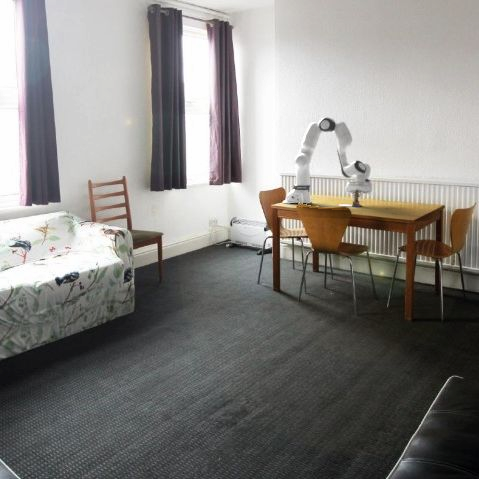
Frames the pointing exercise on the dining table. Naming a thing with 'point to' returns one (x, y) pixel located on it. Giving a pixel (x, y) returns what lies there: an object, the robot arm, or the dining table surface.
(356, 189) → the stamp
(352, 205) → the ink pad
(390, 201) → the dining table surface
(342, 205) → the print sheet
